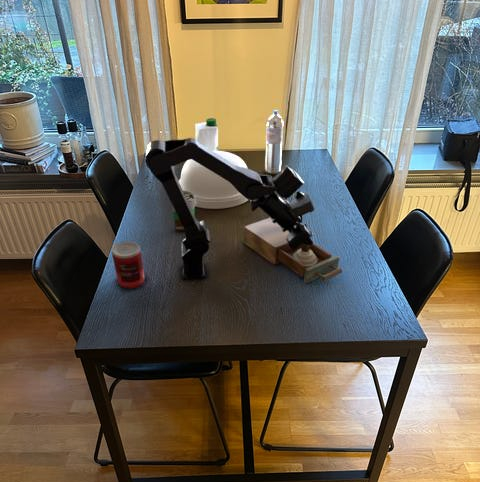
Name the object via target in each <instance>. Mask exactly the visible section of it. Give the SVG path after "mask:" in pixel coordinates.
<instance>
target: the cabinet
mask: <svg viewBox="0 0 480 482" xmlns="http://www.w3.org/2000/svg"><path fill="white" fill-rule="evenodd" d="M288 234H289V231H287V230H286V231H285V232H283V231H282V229H281V227H280V226H279V225H278V224H277V223H275V224H274V223H273V222H272V220H271V218H270V217H268V218H267V217H266V218H265V219H261V220H260V221H256V222H253V223H250V224H247V225H244V227H243V243H244V245H246V246H247V247H249V248H250V249H252V250H253V251H254V252H256V253H257V254H258V255H260V256H261V257H262V258H264V259H266V260H267V261H268V262H270V263H271V264H272V265H277V264H279V263H281V262H280V261H279V260H277V249H279V248H281V247H284V246H286V245H288V242H287V240H286V238H287V235H288Z"/></svg>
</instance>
